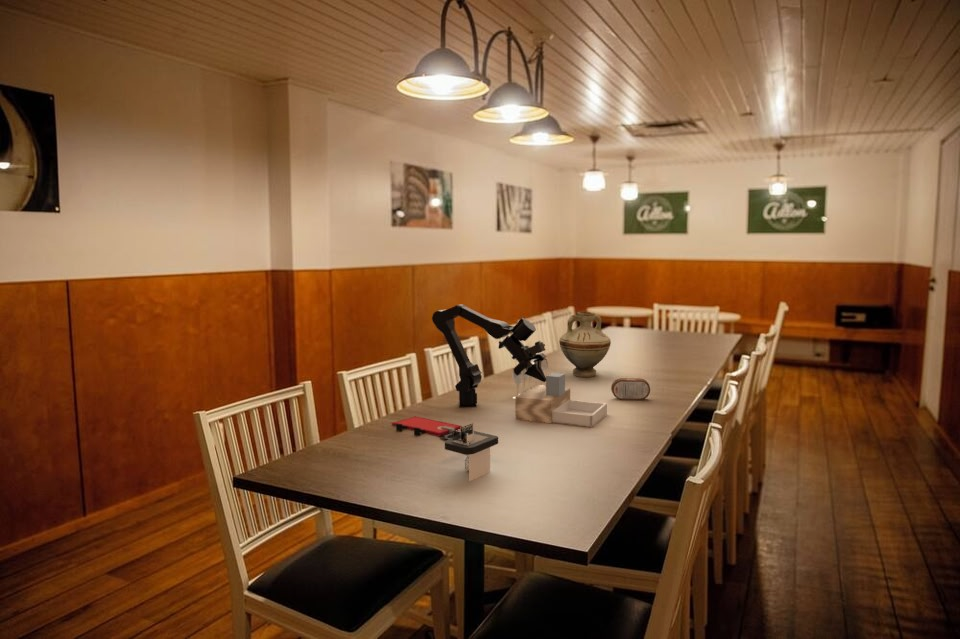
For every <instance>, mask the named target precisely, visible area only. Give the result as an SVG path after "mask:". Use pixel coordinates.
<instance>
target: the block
mask: <svg viewBox="0 0 960 639" xmlns="http://www.w3.org/2000/svg"><path fill="white" fill-rule="evenodd" d="M545 377H546V382H545V386H546V395H550V396H561V395H562V394H564V393H565V388H566V374H565V373H559V372H551V373H549V374H547V375H545Z"/></svg>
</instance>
